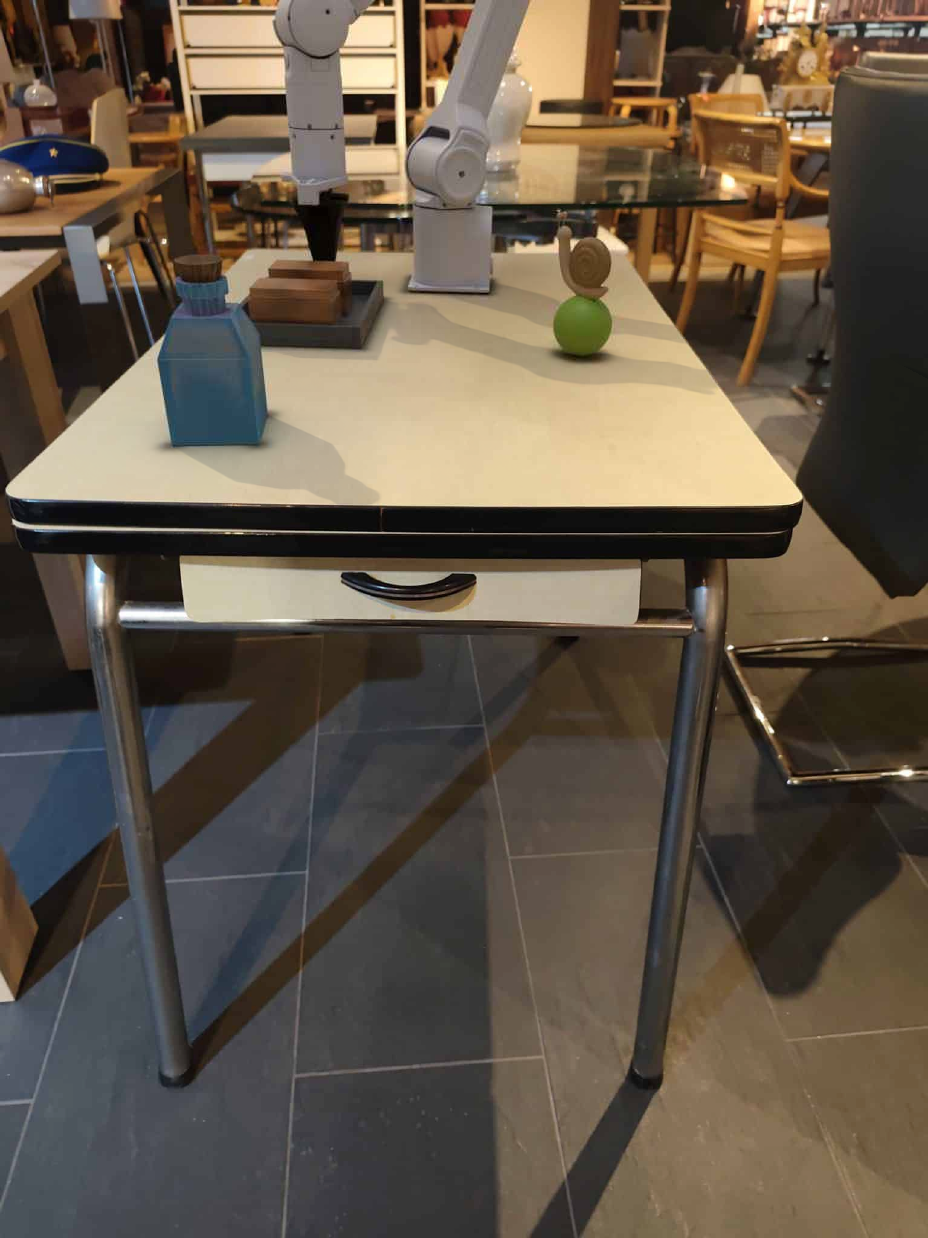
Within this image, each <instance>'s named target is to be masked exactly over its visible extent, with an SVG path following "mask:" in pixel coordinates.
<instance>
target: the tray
mask: <svg viewBox="0 0 928 1238" xmlns="http://www.w3.org/2000/svg"><path fill="white" fill-rule="evenodd" d="M268 277H269V276H266V277H265V278H268ZM384 295H385V294H384V280H381V279H378V280H377V279H352V297H353V306H352V308H351V309H350V311H349V313H348V315H347V316H342V325H322V324H289V323H257V322H252V323H253V325H254V326H255V328H256V329H257V331H258V332H259V334H260V343H261V346H271V347H272V346H273V347H299V348H300V347H306V348H335V349H336V348H337V349H362V347H363V344H364V343H365V341H366V339H367V336H368V334H369V332H370V329H371V327H372V325H373V323H374V320H375V318H376V317H377V314H378V312H379V310H380V307H381V306H382V303H383V301H384V297H385V296H384ZM249 298H250V293H249V294H248V295H247V296H246V297H244V299H242V301H241V302H239V304H240V306H241V307H242V309H243V310H244V312H245V313H246V315H247V316H248V318H249V319H250V314H249V305H248V299H249Z"/></svg>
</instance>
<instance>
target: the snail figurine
mask: <svg viewBox="0 0 928 1238" xmlns="http://www.w3.org/2000/svg"><path fill="white" fill-rule="evenodd" d="M567 217H568V212H567V211H562V212H557V214H556V218H557V219H558V221H561V220H562V219H563V220H562V226H560V222H558V224H557V225H558V229H557V231H556V239H557V241H558V260H559V268H560V272H561V275H562V280H563V282H564V283H565V285H566V286H567V288H569V290H571V291H572V292H573V293H574V295H573V296H571V297H568V298H567V299H566V300H564V302H562V303H561V305H560V306H559V307H558V309H557V310H556V311H555V314H554V317H553V323H552V330H553V331H552V332H553V335H554V338H555V340H556V342H557V344H558V345H559V346H560V347H561V348H562V350H564V351H565V352H566V353H568V354H571V355H574V356H578V357H584V356H589V355H592V354H594V353H596V352H598V351H600V350H601V349H602V348H604V346H605V345H606V343H607V342H608V340H609V338H610V336H611V334H612V327H613V319H612V314H611V312H610V309H609V307H608V306H607V305H606V303H605V302H604V301H602V300H601V298H603V297H604V296H605V295H606V294H607V293H608V292H609V290H610V287H608V286H602V284H604V283H605V282H606V281H607V280H608V278H609V276H610V274H611V270H612V256H611V252H610V250H609V248H608V246H607V245H606V244H605V242H604V241H602V240H601V239H600V238H597V237H594V236H588V237H584V238H581V239H580V240H578V241H577V242H576V243H575V244H574V247H572V246H571V240H572V236H573V232H572V230H571V228H570V227H569V226H567V225H565V219H566V218H567Z"/></svg>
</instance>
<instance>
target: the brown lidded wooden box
mask: <svg viewBox="0 0 928 1238" xmlns="http://www.w3.org/2000/svg"><path fill="white" fill-rule="evenodd" d="M267 273H268V276H267V277H268V278H282V279H316V280H337V285H338V290H339V291H340V298H341V316H347V315H348V313H349V311H350V309H351V308H352V306H353V297H352V280H353V279H352V278H353V277H352V271H350V262H349V261H337V260H336V261H313V260H303V259H301V260H299V259H276V260H275V261H274V262H273V263H272V264H271V265H270V266H268V268H267Z"/></svg>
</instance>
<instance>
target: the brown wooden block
mask: <svg viewBox="0 0 928 1238" xmlns="http://www.w3.org/2000/svg"><path fill="white" fill-rule="evenodd" d="M248 289H249V290H248V291H249V294H250V298H249V299H248V305H249V314H250V321H251V322H257V323H289V324H322V325H342V316H341V298H340V291H339V290H338V285H337V280H316V279H282V278H266V277H259V278H258V279H256V280H255V282H254V283H253V284H252V285H251V286H250V287H249V288H248Z"/></svg>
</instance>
